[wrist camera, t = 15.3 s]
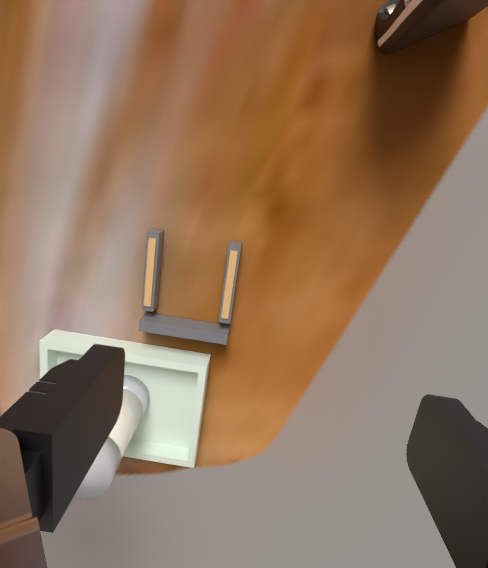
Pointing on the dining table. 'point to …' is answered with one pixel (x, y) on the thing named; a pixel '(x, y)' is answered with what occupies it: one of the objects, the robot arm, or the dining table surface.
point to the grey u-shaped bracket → (183, 325)
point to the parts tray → (162, 387)
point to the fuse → (116, 440)
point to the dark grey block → (420, 20)
